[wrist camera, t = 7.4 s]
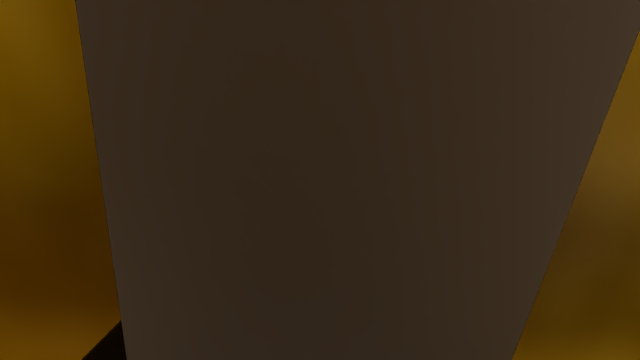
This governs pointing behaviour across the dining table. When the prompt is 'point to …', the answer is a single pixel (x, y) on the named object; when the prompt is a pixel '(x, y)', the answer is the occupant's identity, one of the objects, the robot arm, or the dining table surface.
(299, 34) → the walnut batten
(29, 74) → the dining table surface
